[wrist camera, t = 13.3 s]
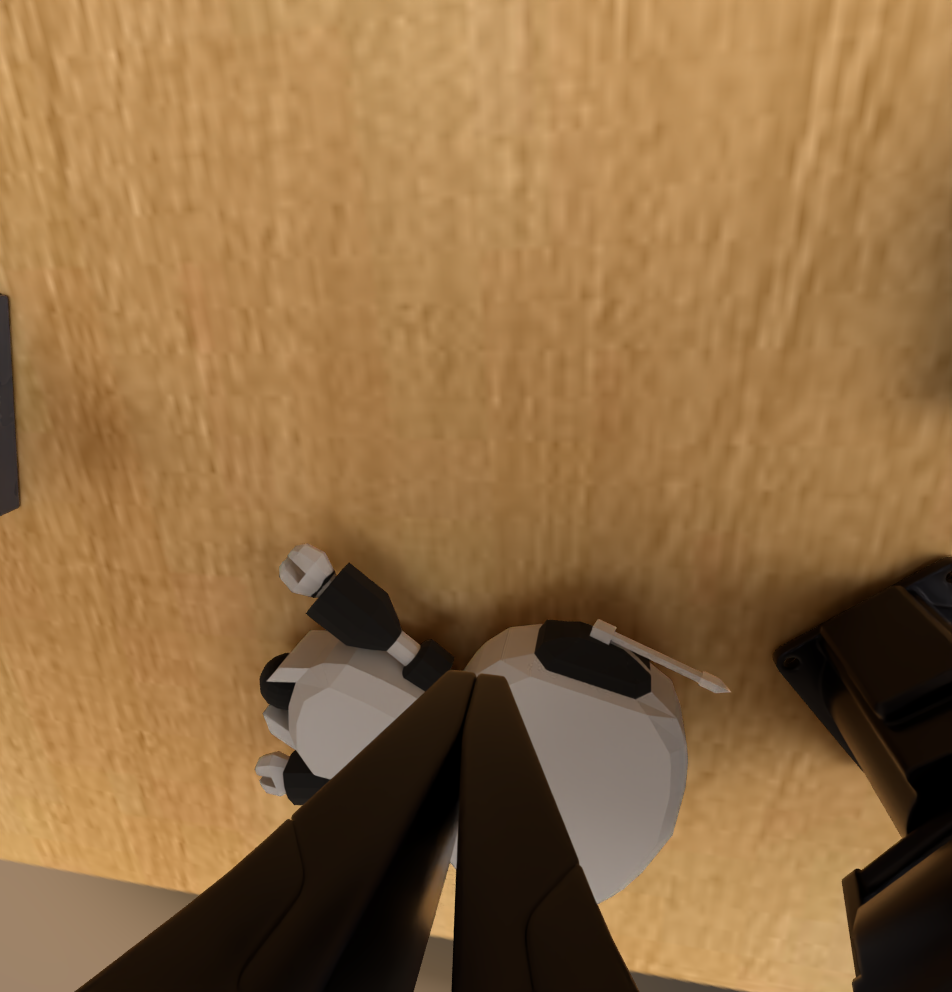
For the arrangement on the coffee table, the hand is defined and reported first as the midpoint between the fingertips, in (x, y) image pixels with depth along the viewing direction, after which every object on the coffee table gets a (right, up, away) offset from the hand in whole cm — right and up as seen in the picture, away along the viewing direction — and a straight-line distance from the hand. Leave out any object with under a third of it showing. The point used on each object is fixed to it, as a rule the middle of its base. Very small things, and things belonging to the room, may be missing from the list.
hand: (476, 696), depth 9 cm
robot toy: (0, -5, +15) cm, 16 cm away
